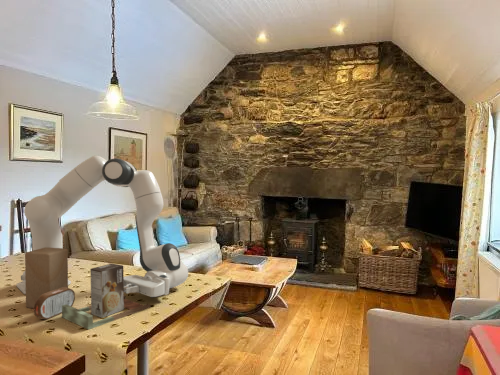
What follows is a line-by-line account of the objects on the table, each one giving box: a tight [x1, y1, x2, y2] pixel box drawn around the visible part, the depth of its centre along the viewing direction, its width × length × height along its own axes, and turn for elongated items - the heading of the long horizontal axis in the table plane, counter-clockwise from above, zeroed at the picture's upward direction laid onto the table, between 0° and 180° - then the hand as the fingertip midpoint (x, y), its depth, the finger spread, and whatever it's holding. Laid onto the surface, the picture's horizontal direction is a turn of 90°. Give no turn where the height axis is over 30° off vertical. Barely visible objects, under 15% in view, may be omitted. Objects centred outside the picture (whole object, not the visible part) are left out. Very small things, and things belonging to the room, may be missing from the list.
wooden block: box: [24, 247, 69, 309], centre depth 138 cm, size 10×10×20 cm
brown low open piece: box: [61, 295, 151, 330], centre depth 131 cm, size 16×24×4 cm, turn 144°
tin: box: [33, 287, 76, 320], centre depth 129 cm, size 15×3×8 cm, turn 159°
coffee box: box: [90, 263, 125, 319], centre depth 131 cm, size 9×6×16 cm
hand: (123, 290), depth 137 cm, fingers closed
